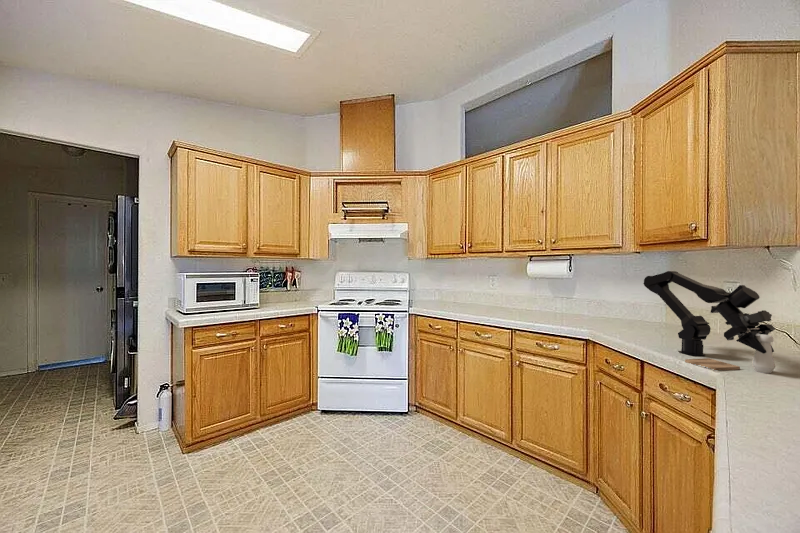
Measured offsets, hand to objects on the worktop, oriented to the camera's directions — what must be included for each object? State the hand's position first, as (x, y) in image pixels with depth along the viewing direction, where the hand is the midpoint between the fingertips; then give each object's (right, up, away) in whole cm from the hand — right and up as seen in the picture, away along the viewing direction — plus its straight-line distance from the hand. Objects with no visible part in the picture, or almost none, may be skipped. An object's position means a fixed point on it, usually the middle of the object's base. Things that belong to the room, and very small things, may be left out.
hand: (769, 352), depth 129 cm
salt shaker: (0, -7, +2) cm, 7 cm away
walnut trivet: (-13, -7, +8) cm, 17 cm away
